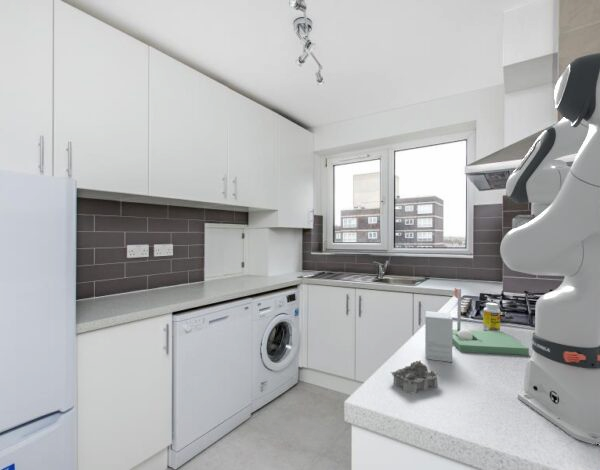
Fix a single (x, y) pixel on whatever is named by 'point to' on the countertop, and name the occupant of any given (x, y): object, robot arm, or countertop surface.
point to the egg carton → (408, 380)
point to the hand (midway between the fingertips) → (547, 259)
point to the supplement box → (438, 336)
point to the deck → (486, 339)
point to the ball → (465, 334)
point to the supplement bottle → (491, 317)
